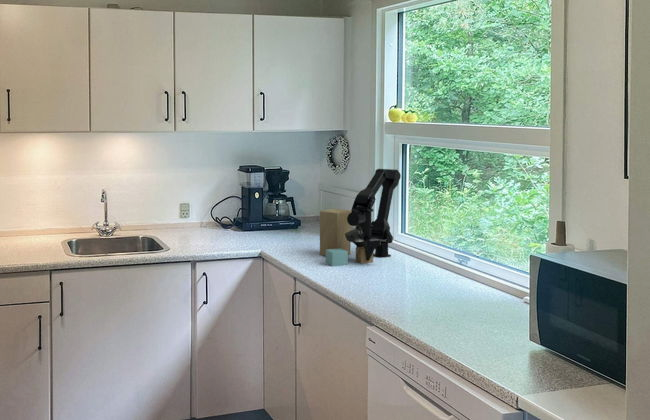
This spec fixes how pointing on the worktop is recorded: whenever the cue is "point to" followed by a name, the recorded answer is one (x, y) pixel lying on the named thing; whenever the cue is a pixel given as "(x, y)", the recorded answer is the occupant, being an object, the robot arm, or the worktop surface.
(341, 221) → the wooden block
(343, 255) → the teal block
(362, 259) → the walnut cube
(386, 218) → the robot arm
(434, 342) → the worktop surface
